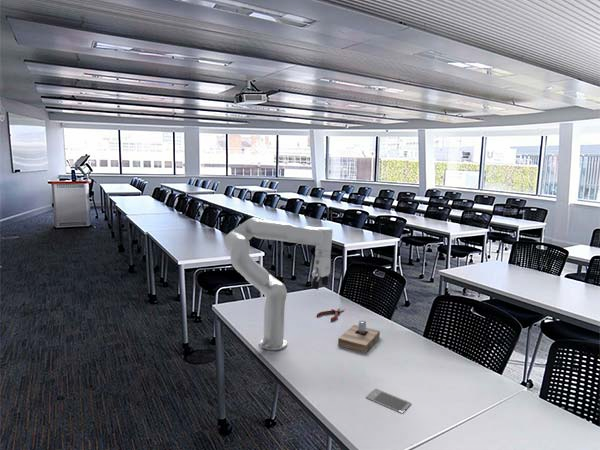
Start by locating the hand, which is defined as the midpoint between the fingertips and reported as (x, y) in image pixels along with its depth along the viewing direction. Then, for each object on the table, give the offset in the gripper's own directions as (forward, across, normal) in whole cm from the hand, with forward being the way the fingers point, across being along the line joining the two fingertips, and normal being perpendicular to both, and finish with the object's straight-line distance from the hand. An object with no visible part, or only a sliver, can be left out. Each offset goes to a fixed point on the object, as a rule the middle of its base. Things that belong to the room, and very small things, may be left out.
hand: (319, 286), depth 200 cm
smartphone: (+27, -32, -49) cm, 64 cm away
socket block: (+25, +9, -20) cm, 33 cm away
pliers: (+26, +32, +5) cm, 42 cm away
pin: (+25, +12, -20) cm, 34 cm away
